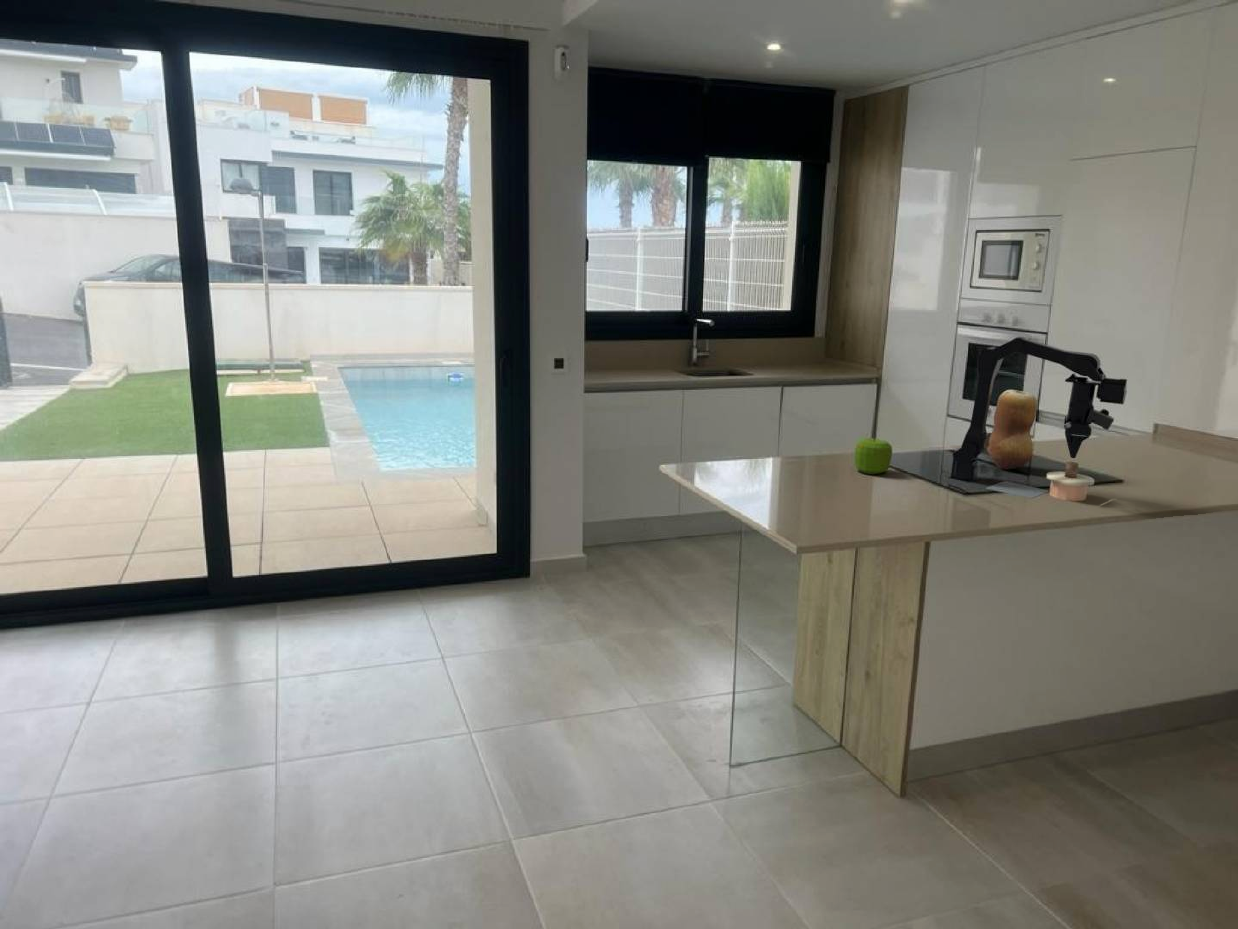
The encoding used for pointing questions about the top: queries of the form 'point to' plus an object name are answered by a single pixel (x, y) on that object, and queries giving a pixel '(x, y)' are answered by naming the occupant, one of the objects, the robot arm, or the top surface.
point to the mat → (1017, 489)
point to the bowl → (1068, 491)
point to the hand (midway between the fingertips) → (1072, 454)
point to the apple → (872, 455)
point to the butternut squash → (1012, 429)
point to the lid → (1070, 476)
